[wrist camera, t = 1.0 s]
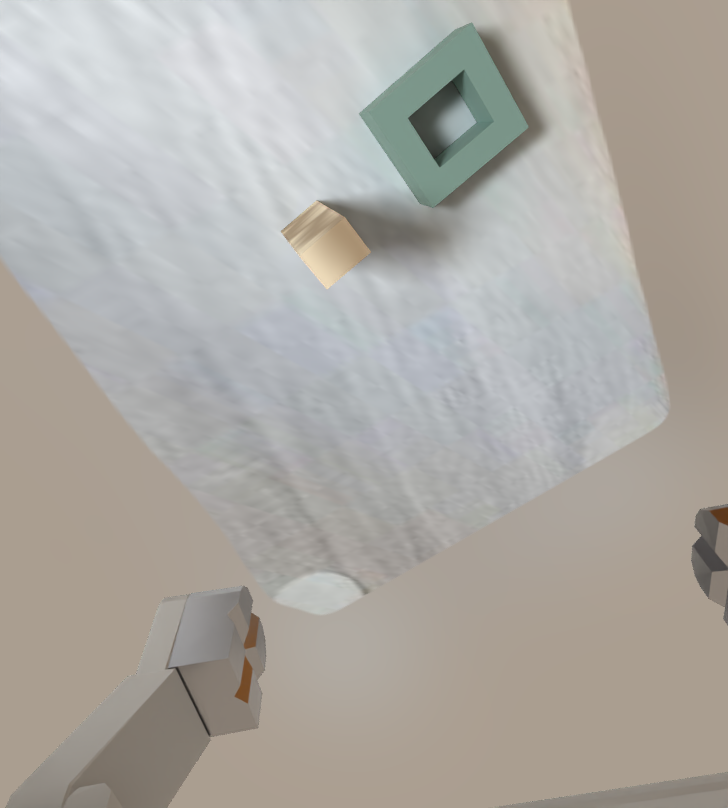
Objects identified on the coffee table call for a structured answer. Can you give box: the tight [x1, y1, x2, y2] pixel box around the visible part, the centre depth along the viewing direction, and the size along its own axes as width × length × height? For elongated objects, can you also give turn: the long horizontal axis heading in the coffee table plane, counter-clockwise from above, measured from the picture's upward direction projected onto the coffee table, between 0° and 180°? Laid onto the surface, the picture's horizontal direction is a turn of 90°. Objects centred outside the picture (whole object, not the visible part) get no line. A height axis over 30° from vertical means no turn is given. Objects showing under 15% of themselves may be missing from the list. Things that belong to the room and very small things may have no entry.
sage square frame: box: [359, 23, 529, 208], centre depth 49 cm, size 10×9×4 cm
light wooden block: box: [281, 201, 371, 289], centre depth 47 cm, size 4×3×12 cm
